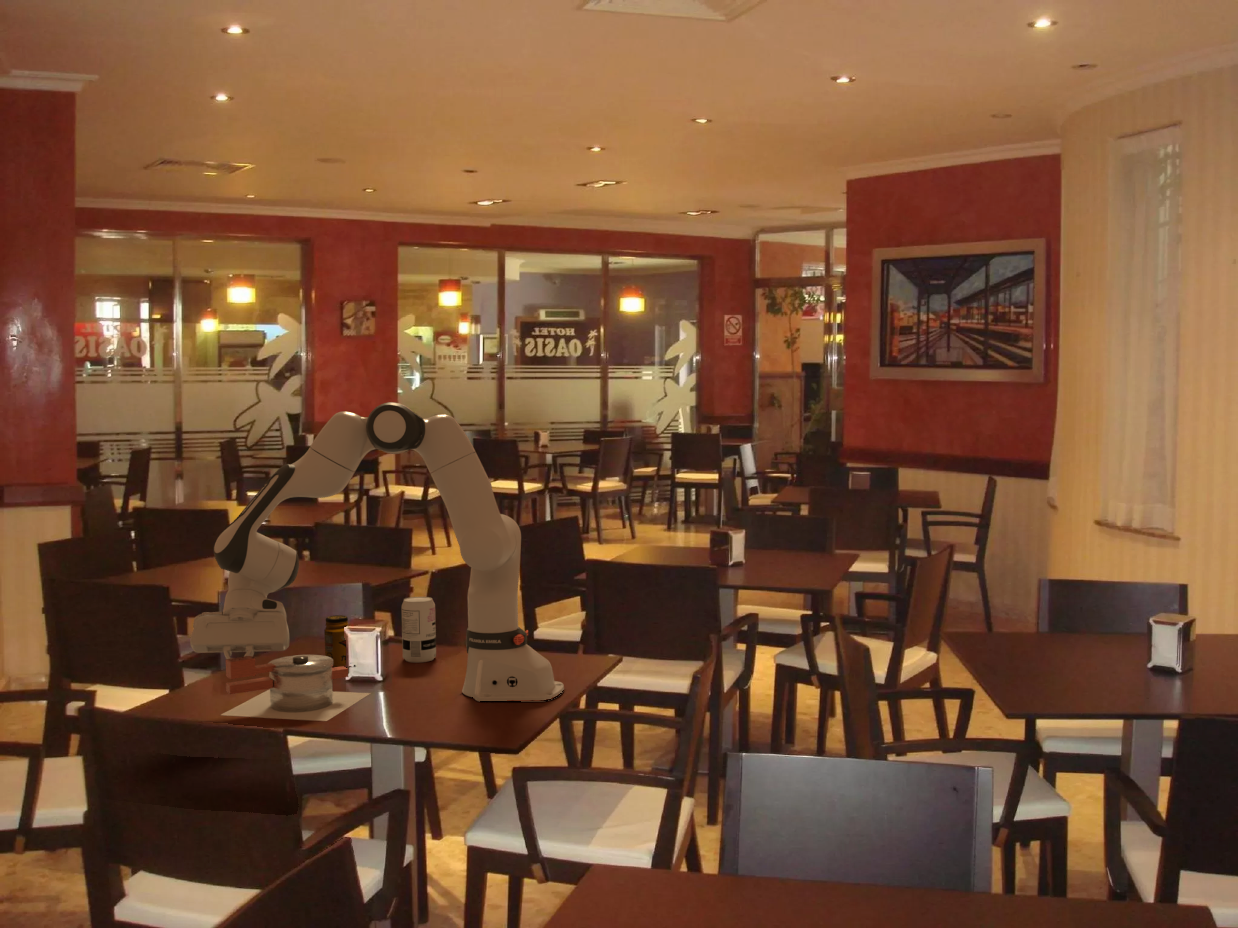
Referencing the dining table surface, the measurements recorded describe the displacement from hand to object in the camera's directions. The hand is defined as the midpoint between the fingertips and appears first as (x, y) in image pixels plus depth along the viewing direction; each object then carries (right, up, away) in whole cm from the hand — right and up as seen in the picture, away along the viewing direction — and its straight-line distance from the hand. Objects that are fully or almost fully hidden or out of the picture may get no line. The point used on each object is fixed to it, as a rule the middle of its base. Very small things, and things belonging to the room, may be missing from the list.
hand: (236, 667), depth 268 cm
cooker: (+10, -9, +4) cm, 14 cm away
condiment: (+11, -7, +42) cm, 44 cm away
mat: (+11, -9, +6) cm, 16 cm away
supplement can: (+31, -6, +48) cm, 57 cm away
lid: (+9, -1, +3) cm, 9 cm away
